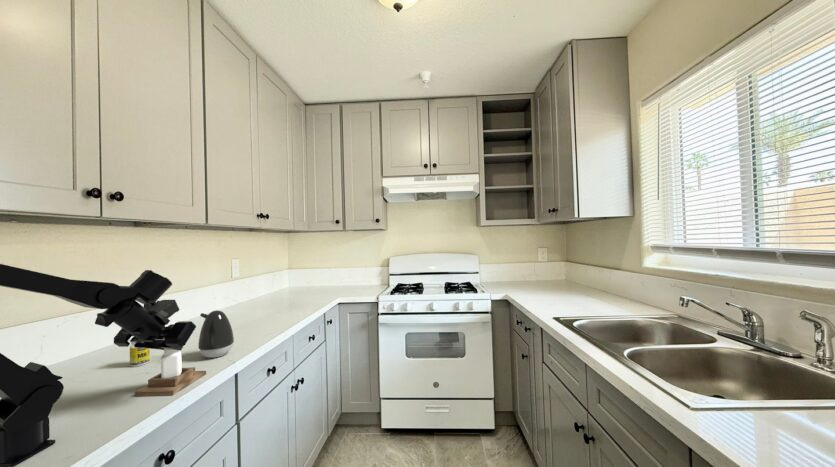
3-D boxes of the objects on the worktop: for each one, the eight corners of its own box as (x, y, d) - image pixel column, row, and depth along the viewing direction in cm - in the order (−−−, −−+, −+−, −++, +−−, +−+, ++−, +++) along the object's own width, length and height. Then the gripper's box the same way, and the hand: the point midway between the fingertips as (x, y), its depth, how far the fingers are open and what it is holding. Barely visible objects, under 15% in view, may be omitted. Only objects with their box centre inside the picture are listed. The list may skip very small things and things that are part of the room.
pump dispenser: (212, 349, 111) (211, 307, 111) (240, 349, 111) (239, 306, 111) (190, 361, 101) (189, 314, 101) (221, 360, 100) (220, 314, 100)
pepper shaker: (179, 377, 84) (179, 342, 84) (160, 381, 82) (160, 345, 82) (182, 372, 87) (181, 338, 87) (164, 376, 85) (163, 341, 85)
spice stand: (173, 395, 79) (173, 383, 79) (134, 396, 79) (134, 384, 79) (206, 374, 91) (206, 363, 91) (172, 374, 91) (172, 364, 91)
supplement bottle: (137, 367, 97) (137, 340, 97) (125, 366, 98) (125, 340, 98) (153, 361, 102) (152, 335, 102) (142, 360, 103) (141, 335, 103)
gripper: (189, 291, 80) (221, 322, 91) (125, 291, 82) (163, 322, 93) (161, 330, 72) (200, 359, 83) (90, 330, 74) (137, 359, 85)
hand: (175, 348), depth 86 cm, fingers closed on pepper shaker, 3 cm apart
